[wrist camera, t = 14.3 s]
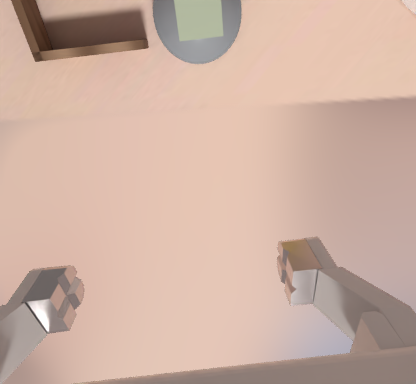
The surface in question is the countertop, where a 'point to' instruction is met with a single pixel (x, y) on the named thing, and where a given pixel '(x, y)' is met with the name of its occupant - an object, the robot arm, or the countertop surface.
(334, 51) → the countertop surface
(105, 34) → the countertop surface
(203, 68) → the countertop surface
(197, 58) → the grey round glossy part
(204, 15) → the cube
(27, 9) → the cubby
